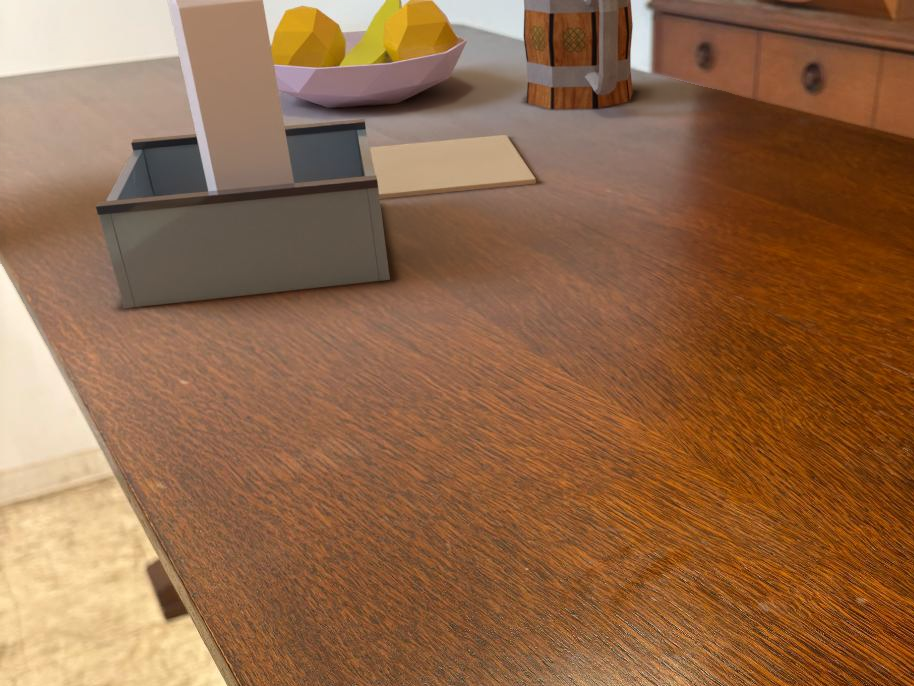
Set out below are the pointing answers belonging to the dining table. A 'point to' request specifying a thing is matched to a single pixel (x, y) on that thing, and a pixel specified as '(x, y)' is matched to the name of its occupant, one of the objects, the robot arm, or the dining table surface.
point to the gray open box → (245, 221)
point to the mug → (578, 53)
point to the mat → (448, 166)
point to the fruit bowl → (365, 55)
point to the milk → (232, 92)
